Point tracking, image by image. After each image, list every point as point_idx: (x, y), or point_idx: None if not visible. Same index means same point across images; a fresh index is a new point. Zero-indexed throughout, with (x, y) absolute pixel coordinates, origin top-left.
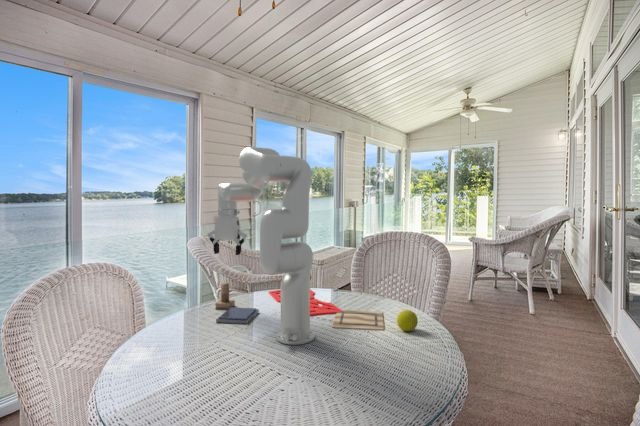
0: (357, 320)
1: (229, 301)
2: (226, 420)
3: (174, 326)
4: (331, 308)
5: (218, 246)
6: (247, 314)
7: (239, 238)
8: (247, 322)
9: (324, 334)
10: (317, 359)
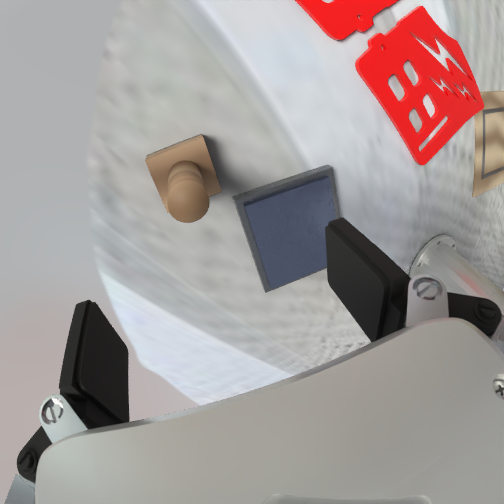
0: (497, 151)
1: (200, 167)
2: None
3: (191, 344)
4: (468, 88)
5: (92, 367)
6: None
7: (451, 329)
8: None
9: (463, 228)
10: None
